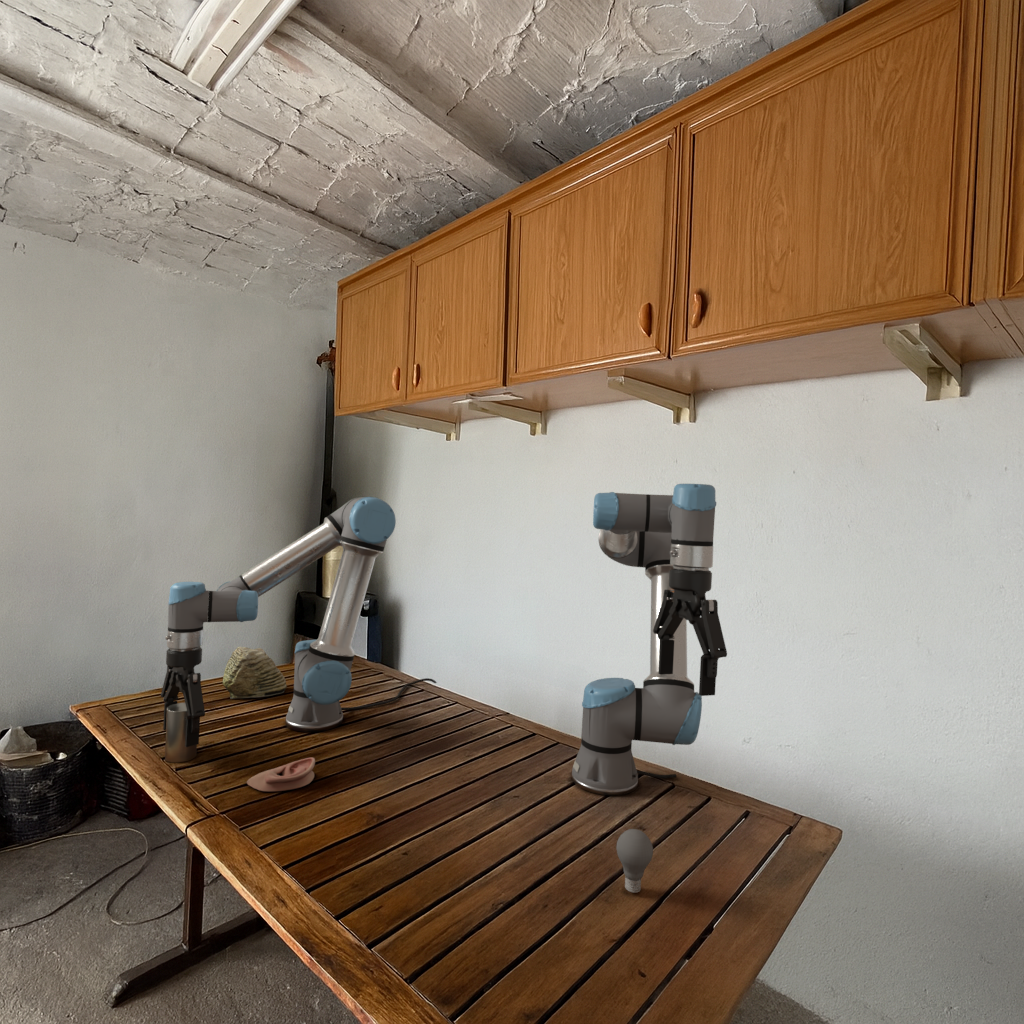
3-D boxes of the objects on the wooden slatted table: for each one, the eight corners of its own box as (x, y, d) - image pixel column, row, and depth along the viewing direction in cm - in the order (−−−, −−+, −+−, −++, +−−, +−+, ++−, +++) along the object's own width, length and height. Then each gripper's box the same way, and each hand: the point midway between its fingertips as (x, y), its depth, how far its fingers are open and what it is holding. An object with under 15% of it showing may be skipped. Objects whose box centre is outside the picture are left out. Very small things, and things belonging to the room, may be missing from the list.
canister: (160, 763, 147) (162, 711, 146) (170, 751, 153) (171, 702, 153) (191, 762, 148) (193, 711, 148) (199, 750, 154) (201, 702, 154)
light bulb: (610, 879, 108) (613, 822, 108) (644, 879, 109) (647, 822, 109) (619, 902, 102) (622, 840, 102) (655, 901, 103) (658, 840, 103)
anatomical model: (238, 769, 136) (269, 749, 147) (238, 787, 136) (269, 766, 147) (295, 777, 133) (322, 756, 144) (294, 796, 133) (321, 773, 144)
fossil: (218, 695, 195) (220, 647, 195) (278, 685, 208) (279, 640, 207) (228, 703, 189) (230, 653, 188) (289, 692, 201) (290, 645, 201)
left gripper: (148, 639, 156) (144, 725, 156) (188, 661, 139) (184, 757, 139) (181, 636, 161) (177, 719, 161) (223, 656, 144) (218, 748, 145)
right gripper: (639, 561, 127) (634, 666, 127) (713, 576, 103) (707, 706, 103) (672, 561, 129) (667, 665, 129) (752, 576, 105) (746, 704, 105)
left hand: (180, 736), depth 150 cm, fingers open, 13 cm apart
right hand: (685, 684), depth 116 cm, fingers open, 13 cm apart
